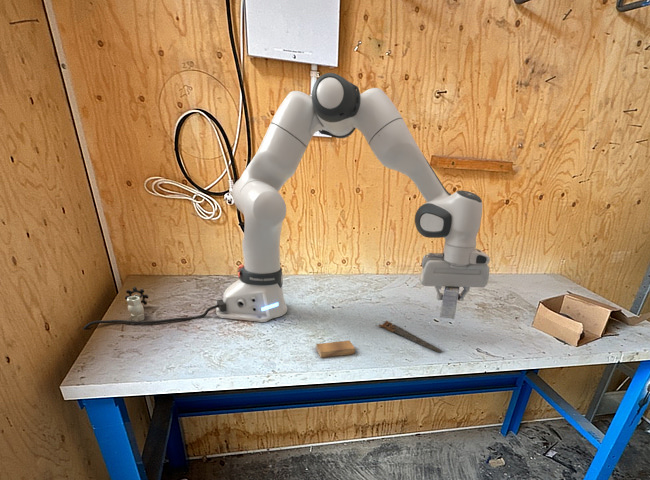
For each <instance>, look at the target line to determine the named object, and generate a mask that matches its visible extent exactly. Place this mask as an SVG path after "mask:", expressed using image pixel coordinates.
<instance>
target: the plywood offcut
mask: <svg viewBox="0 0 650 480" xmlns="http://www.w3.org/2000/svg"><path fill="white" fill-rule="evenodd" d="M315 350H316V352H317V353H318V355H319V357H320V358H321V359H323V358H330V357H338V356H339V357H340V356H347V355H348V356H349V355H355V354H356V348H355V346H354V345H353V343H352V341H351V340H342V341H332V342H323V343H316V345H315Z"/></svg>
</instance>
